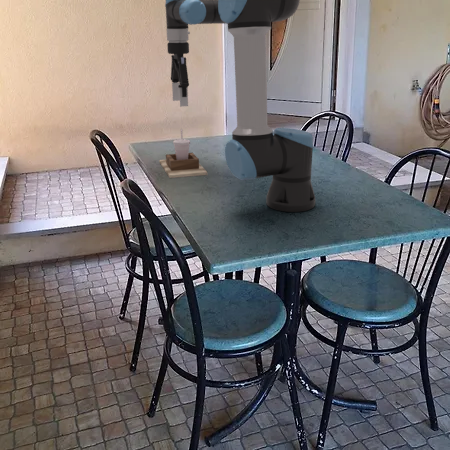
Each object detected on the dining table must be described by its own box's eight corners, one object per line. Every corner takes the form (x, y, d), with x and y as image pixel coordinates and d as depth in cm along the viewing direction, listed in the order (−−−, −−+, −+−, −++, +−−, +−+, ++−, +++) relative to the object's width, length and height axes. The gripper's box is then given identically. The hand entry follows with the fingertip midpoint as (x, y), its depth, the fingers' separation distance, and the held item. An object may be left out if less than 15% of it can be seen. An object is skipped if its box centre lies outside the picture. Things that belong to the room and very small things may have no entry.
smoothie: (192, 163, 204) (191, 127, 198) (189, 168, 198) (188, 131, 192) (175, 163, 204) (174, 127, 199) (172, 168, 198) (171, 131, 193)
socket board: (207, 174, 194) (207, 162, 192) (169, 178, 190) (169, 165, 188) (193, 159, 213) (193, 148, 211) (159, 162, 210) (158, 151, 208)
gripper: (196, 43, 174) (198, 108, 182) (181, 39, 196) (183, 97, 204) (174, 43, 172) (176, 109, 180) (161, 40, 194) (164, 98, 202)
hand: (180, 103), depth 192 cm, fingers open, 13 cm apart
